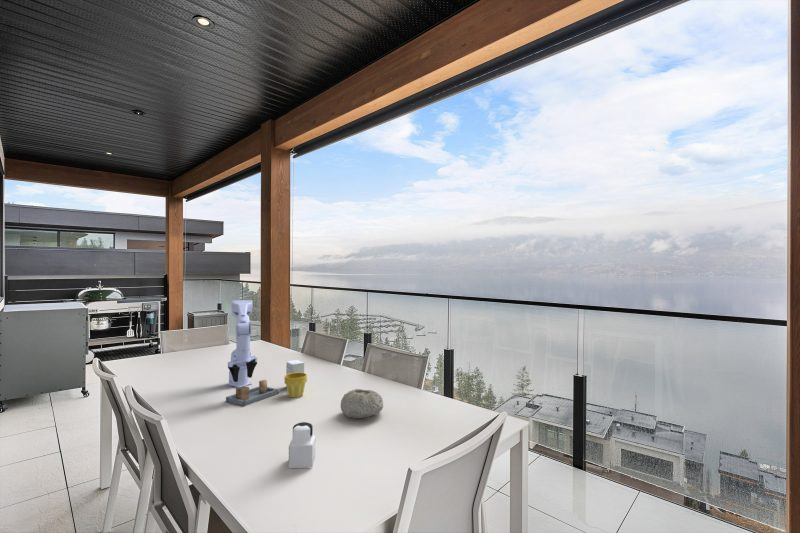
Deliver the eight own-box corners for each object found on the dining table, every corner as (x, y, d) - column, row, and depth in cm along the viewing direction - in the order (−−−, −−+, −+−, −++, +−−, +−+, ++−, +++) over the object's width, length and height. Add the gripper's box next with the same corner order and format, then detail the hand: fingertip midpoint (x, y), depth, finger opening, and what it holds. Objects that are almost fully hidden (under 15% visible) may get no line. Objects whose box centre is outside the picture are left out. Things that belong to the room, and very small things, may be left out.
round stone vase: (365, 404, 173) (365, 382, 173) (392, 415, 160) (392, 391, 160) (332, 414, 160) (332, 390, 161) (358, 427, 148) (358, 401, 148)
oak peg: (257, 392, 185) (257, 381, 185) (263, 390, 188) (263, 379, 188) (262, 394, 183) (262, 382, 183) (268, 391, 186) (268, 380, 186)
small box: (304, 388, 195) (304, 362, 195) (292, 390, 191) (292, 364, 191) (297, 384, 201) (297, 359, 201) (285, 386, 197) (286, 361, 197)
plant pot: (280, 395, 183) (280, 375, 183) (298, 390, 191) (299, 370, 191) (291, 400, 176) (292, 379, 176) (311, 395, 184) (311, 375, 184)
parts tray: (226, 401, 174) (226, 397, 174) (261, 389, 192) (261, 385, 192) (244, 406, 169) (244, 401, 169) (278, 393, 186) (278, 389, 186)
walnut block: (235, 400, 174) (235, 388, 174) (243, 397, 178) (243, 385, 178) (241, 401, 172) (241, 389, 172) (249, 399, 176) (249, 387, 176)
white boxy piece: (292, 457, 124) (293, 420, 124) (315, 457, 125) (315, 419, 125) (288, 469, 117) (288, 429, 117) (312, 468, 117) (312, 429, 117)
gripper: (235, 353, 167) (235, 384, 167) (262, 347, 180) (261, 376, 179) (224, 351, 170) (224, 382, 170) (251, 346, 183) (251, 374, 183)
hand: (242, 379), depth 175 cm, fingers open, 7 cm apart
